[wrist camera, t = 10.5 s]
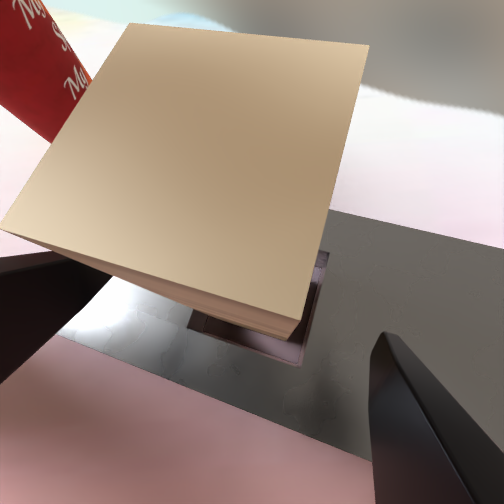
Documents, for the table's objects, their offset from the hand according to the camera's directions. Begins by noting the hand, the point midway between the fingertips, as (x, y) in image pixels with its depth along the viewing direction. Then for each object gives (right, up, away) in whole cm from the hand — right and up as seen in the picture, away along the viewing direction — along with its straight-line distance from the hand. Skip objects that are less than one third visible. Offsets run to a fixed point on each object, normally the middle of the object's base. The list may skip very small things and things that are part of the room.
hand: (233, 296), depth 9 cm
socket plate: (+1, -1, +8) cm, 8 cm away
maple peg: (+1, -2, +8) cm, 8 cm away
